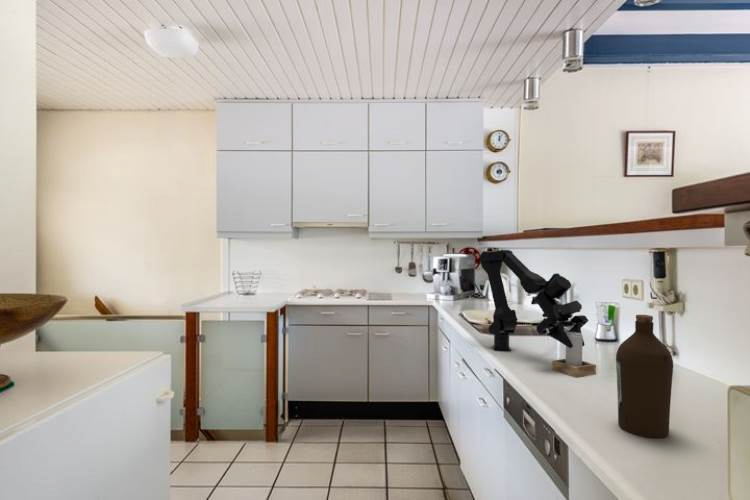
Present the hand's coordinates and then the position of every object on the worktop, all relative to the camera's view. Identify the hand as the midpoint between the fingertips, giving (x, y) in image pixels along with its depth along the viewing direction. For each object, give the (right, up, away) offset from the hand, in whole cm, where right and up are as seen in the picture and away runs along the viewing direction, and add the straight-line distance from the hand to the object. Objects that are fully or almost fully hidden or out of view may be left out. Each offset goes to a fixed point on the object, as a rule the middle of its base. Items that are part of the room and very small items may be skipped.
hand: (577, 346), depth 134 cm
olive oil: (-6, -9, -42) cm, 43 cm away
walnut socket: (-1, -8, +1) cm, 8 cm away
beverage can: (-1, -8, +1) cm, 8 cm away
